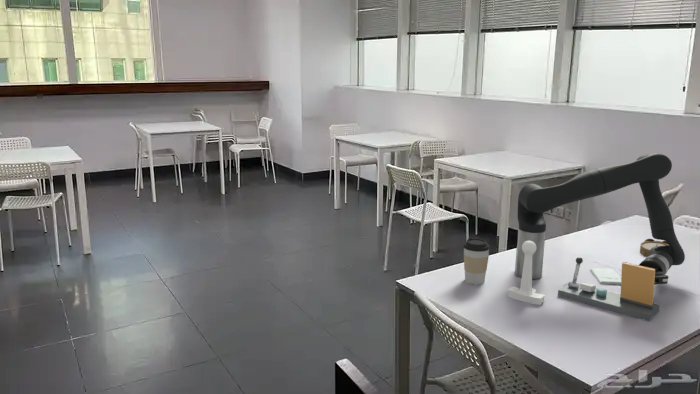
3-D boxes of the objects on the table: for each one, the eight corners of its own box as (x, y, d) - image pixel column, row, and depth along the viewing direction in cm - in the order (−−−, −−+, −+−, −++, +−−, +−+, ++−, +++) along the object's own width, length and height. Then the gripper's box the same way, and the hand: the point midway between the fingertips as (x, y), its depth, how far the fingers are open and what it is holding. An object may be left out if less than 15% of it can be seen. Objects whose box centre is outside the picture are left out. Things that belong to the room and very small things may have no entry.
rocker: (579, 289, 181) (580, 283, 181) (584, 287, 184) (584, 282, 184) (590, 292, 178) (591, 286, 178) (595, 290, 182) (596, 285, 181)
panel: (557, 295, 183) (558, 289, 183) (569, 286, 190) (570, 281, 190) (649, 321, 165) (650, 315, 164) (659, 310, 172) (660, 304, 171)
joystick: (506, 296, 182) (510, 239, 178) (516, 289, 188) (520, 233, 183) (539, 306, 175) (544, 246, 171) (548, 298, 181) (553, 240, 176)
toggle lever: (567, 286, 184) (574, 256, 184) (569, 286, 186) (576, 256, 186) (576, 288, 182) (583, 258, 182) (578, 289, 184) (585, 258, 184)
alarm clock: (638, 248, 220) (644, 233, 231) (637, 259, 222) (643, 243, 233) (670, 254, 214) (675, 237, 225) (668, 265, 216) (673, 248, 227)
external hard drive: (613, 273, 204) (624, 286, 192) (590, 272, 205) (599, 285, 193) (613, 269, 203) (625, 282, 192) (590, 268, 205) (600, 280, 193)
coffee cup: (492, 280, 196) (495, 240, 193) (479, 287, 190) (481, 246, 186) (470, 274, 202) (472, 234, 199) (456, 281, 196) (458, 240, 192)
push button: (594, 294, 178) (595, 290, 178) (598, 292, 180) (598, 287, 180) (604, 297, 176) (604, 292, 176) (607, 294, 178) (608, 290, 178)
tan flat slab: (619, 301, 174) (621, 263, 169) (621, 298, 175) (623, 261, 170) (651, 309, 168) (654, 271, 162) (653, 307, 169) (655, 268, 164)
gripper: (633, 252, 185) (616, 266, 172) (678, 261, 176) (663, 276, 164) (630, 273, 187) (613, 288, 174) (674, 283, 178) (660, 300, 165)
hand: (638, 282), depth 169 cm, fingers closed
